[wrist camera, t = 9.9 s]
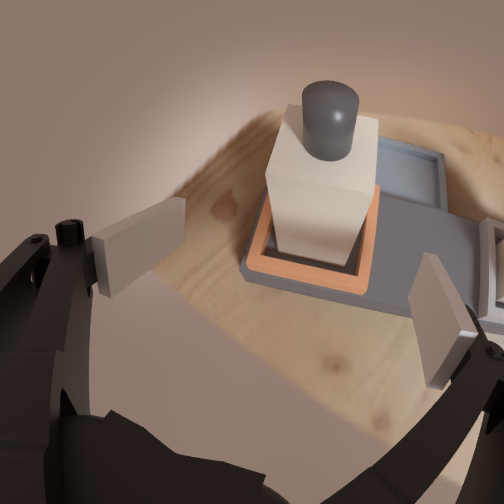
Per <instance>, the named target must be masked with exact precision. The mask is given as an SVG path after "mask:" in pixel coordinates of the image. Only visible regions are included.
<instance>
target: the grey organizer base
mask: <svg viewBox="0 0 504 504" xmlns="http://www.w3.org/2000/svg"><path fill="white" fill-rule="evenodd" d="M503 239H504V222H501V221H498V220H495V219H493V218H490V217H486V218H485V219H484V220H483V221H482V222H481V223H480V222H477V221H474V220H471V219H467V218H464V217H461V216H458V215H454V214H451V213H448V212H444V211H441V210H437V209H434V208H430V207H427V206H423V205H419V204H416V203H412V202H408V201H404V200H400V199H396V198H392V197H388V196H384V195H380V186H379V185H375V189H374V196H373V199H372V201H371V204H370V206H369V209H368V211H367V214H366V216H365V219H364V221H363V224H362V226H361V229H360V231H359V233H358V236H357V238H356V241H355V243H354V245H353V248H352V250H351V252H350V255H349V257H348V259H347V261H346V264H345V266H344V267H340V266H336V265H331V264H327V263H322V262H318V261H313V260H309V259H304V258H300V257H295V256H291V255H286V254H281V253H279V252H278V245H277V239H276V233H275V227H274V222H273V216H272V210H271V204H270V198H269V193H268V187H267V184H266V187H265V190H264V193H263V196H262V199H261V203H260V206H259V209H258V212H257V215H256V218H255V222H254V225H253V228H252V231H251V234H250V237H249V241H248V244H247V247H246V250H245V253H244V256H243V260H242V263H241V266H240V269H239V270H240V272H241V274H242V275H243V277H244V279H245V280H246V281H248V282H252V283H257V284H261V285H265V286H269V287H273V288H277V289H282V290H286V291H290V292H294V293H299V294H303V295H307V296H312V297H316V298H320V299H325V300H329V301H334V302H338V303H343V304H347V305H352V306H356V307H361V308H366V309H370V310H375V311H380V312H384V313H389V314H394V315H399V316H404V317H409V318H413V317H412V313H411V309H410V305H409V301H408V295H409V293H410V290H411V288H412V285H413V282H414V280H415V277H416V274H417V272H418V269H419V266H420V263H421V260H422V257H423V254H424V252H427V253H431V254H434V255H437V256H438V258H439V259H440V261H441V263H442V265H443V266H444V268H445V270H446V271H447V273H448V275H449V277H450V279H451V280H452V282H453V284H454V286H455V288H456V289H457V291H458V293H459V295H460V297H461V299H462V301H463V303H464V304H466V305H468V306H469V307H470V308H471V309H472V310H473V311H474V313H475V315H476V317H477V320H478V321H479V323H480V326H481V327H482V329H483V331H484V332H489V333H494V334H500V335H504V303H500V302H496V249H495V246H496V245H497V244H498V243H500V242H501V241H502V240H503Z"/></svg>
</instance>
